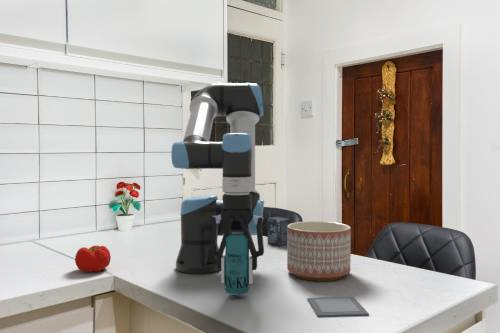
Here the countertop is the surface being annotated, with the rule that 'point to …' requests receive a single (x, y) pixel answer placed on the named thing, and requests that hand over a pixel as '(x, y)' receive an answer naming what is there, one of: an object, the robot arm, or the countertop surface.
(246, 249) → the beverage bottle
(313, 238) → the planter
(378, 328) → the countertop surface
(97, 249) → the tomato
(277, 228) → the box
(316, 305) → the slate mat
